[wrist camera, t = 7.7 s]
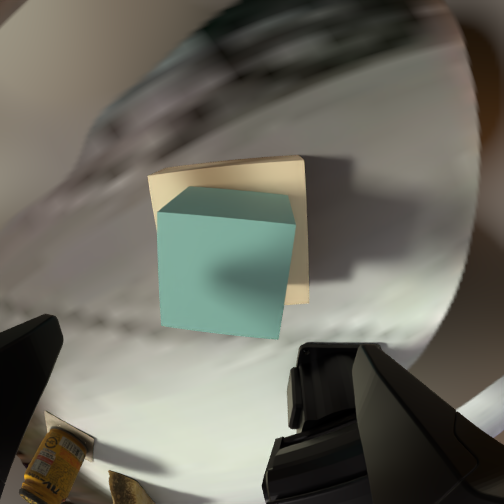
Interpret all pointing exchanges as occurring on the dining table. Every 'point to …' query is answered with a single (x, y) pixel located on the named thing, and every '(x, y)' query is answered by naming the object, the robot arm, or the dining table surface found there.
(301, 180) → the beech block
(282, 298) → the teal cube
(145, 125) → the dining table surface
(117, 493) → the rock
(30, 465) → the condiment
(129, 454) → the dining table surface
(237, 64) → the dining table surface
